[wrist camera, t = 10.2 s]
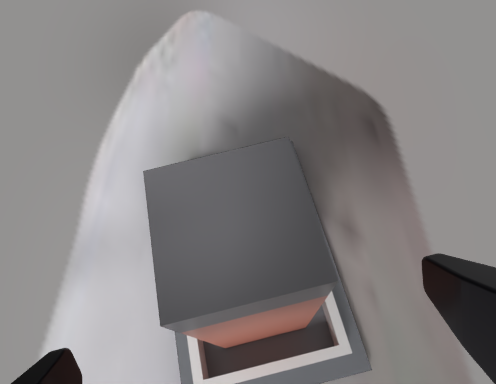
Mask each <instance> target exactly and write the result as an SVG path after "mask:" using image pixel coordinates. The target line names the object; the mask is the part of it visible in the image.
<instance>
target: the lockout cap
mask: <svg viewBox="0 0 496 384" xmlns="http://www.w3.org/2000/svg"><path fill="white" fill-rule="evenodd" d="M143 173H144V182H145V191H146V200H147V209H148V218H149V227H150V236H151V245H152V255H153V264H154V273H155V282H156V291H157V300H158V309H159V318H160V326H161V327H164V328H167V329H170V330H173V331H176V332H179V333H182V334H185V335H188V336H191V337H194V338H196V339H199V340H202V341H205V342H208V343H211V344H214V345H217V346H220V347H223V348H229V347H233V346H237V345H240V344H244V343H248V342H252V341H256V340H260V339H264V338H268V337H272V336H275V335H279V334H283V333H287V332H291V331H295V330H299V329H303V328H306V327H307V325H308V324H309V322H310V321H311V320H312V318H313V317H314V315H315V314H316V312H317V311H318V310H319V308H320V307H321V305H322V304H323V302H324V301H325V300H326V298H327V297H328V295H329V294H330V292H331V291H332V290H333V288H334V287H335V285H336V284H337V282H338V278H337V276H336V273H335V270H334V267H333V264H332V261H331V258H330V255H329V253H328V250H327V247H326V244H325V241H324V238H323V235H322V232H321V230H320V227H319V224H318V221H317V218H316V215H315V212H314V209H313V206H312V204H311V201H310V198H309V195H308V192H307V189H306V186H305V183H304V181H303V178H302V175H301V172H300V169H299V166H298V163H297V160H296V158H295V155H294V152H293V149H292V146H291V143H290V140H289V137H284V138H280V139H276V140H272V141H267V142H263V143H259V144H255V145H251V146H247V147H242V148H238V149H234V150H230V151H226V152H221V153H217V154H213V155H209V156H205V157H200V158H196V159H192V160H188V161H184V162H179V163H175V164H171V165H167V166H163V167H159V168H154V169H150V170H146V171H143Z"/></svg>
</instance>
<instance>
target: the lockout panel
mask: <svg viewBox="0 0 496 384" xmlns="http://www.w3.org/2000/svg"><path fill="white" fill-rule="evenodd" d="M290 143H291V146H292V149H293V152H294V155H295V158H296V160H297V163H298V166H299V169H300V172H301V175H302V178H303V181H304V183H305V186H306V189H307V192H308V195H309V198H310V201H311V204H312V206H313V209H314V212H315V215H316V218H317V221H318V224H319V227H320V230H321V232H322V235H323V238H324V241H325V244H326V247H327V250H328V253H329V255H330V258H331V261H332V264H333V267H334V270H335V273H336V276H337V278H338V282H337V284H336V285H335V287H334V288H333V290H332V291H331V292H330V294H329V295H328V297H327V298H326V300H325V301H324V302H323V304H322V305H321V307H320V308H319V310H318V311H317V312H316V314H315V315H314V317H313V318H312V320H311V321H310V322H309V324H308V325H307V327H306V328H303V329H299V330H295V331H291V332H287V333H283V334H279V335H275V336H272V337H268V338H264V339H260V340H256V341H252V342H248V343H244V344H240V345H237V346H233V347H229V348H223V347H220V346H217V345H214V344H211V343H208V342H205V341H202V340H199V339H196V338H194V337H191V336H188V335H185V334H182V333H179V332H176V331H175V338H176V346H177V354H178V362H179V370H180V378H181V384H320V383H324V382H328V381H331V380H335V379H339V378H343V377H347V376H351V375H354V374H358V373H362V372H366V371H370V370H372V369H371V366H370V363H369V360H368V357H367V354H366V352H365V349H364V346H363V343H362V340H361V337H360V334H359V331H358V329H357V326H356V323H355V320H354V317H353V314H352V311H351V308H350V306H349V303H348V300H347V297H346V294H345V291H344V288H343V285H342V283H341V280H340V277H339V274H338V271H337V268H336V265H335V263H334V260H333V257H332V254H331V251H330V248H329V245H328V242H327V240H326V237H325V234H324V231H323V228H322V225H321V222H320V219H319V217H318V214H317V211H316V208H315V205H314V202H313V199H312V197H311V194H310V191H309V188H308V185H307V182H306V179H305V176H304V174H303V171H302V168H301V165H300V162H299V159H298V156H297V153H296V151H295V148H294V145H293V142H292V141H290Z"/></svg>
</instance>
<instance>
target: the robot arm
mask: <svg viewBox="0 0 496 384" xmlns="http://www.w3.org/2000/svg"><path fill="white" fill-rule="evenodd" d="M422 274H423V286H424V290H425V292H426V294H427V296H428V297H429V299H430V300H431V301H432V303H433V304H434V306H435V307H436V309H437V310H438V311H439V313H440V314H441V316H442V317H443V319H444V320H445V322H446V323H447V324H448V326H449V327H450V329H451V330H452V332H453V333H454V335H455V336H456V337H457V339H458V340H459V341H460V343H461V344H462V346H463V347H464V348H465V349H466V350H467V352H468V353H469V354H470V355H471V357H472V358H473V359H474V360H475V361H476V362H477V364H478V365H479V366H480V367H481V368H482V369H483V370H484V372H485V373H486V374H487V375H488V376H489V378H490V379H491V380H492V381H493V382H494V383H495V384H496V268H495V267H491V266H487V265H484V264H480V263H475V262H472V261H468V260H463V259H460V258H456V257H452V256H448V255H444V254H434V255H430V256H426V257H424V258H423V259H422ZM11 384H82V374H81V371H80V369H79V367H78V365H77V363H76V360H75V358H74V356H73V354H72V352H71V350H69V349H68V348H62V349H59V350H55V351H51V352H49V353H48V354H46V355H45V356H44V357H43V358H41V359H40V360H39V361H38V362H37V363H35V364H34V365H33V366H32V367H31V368H29V369H28V370H27V371H26V372H24V373H23V374H22V375H21V376H20V377H18V378H17V379H16V380H15V381H14V382H12V383H11Z"/></svg>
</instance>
